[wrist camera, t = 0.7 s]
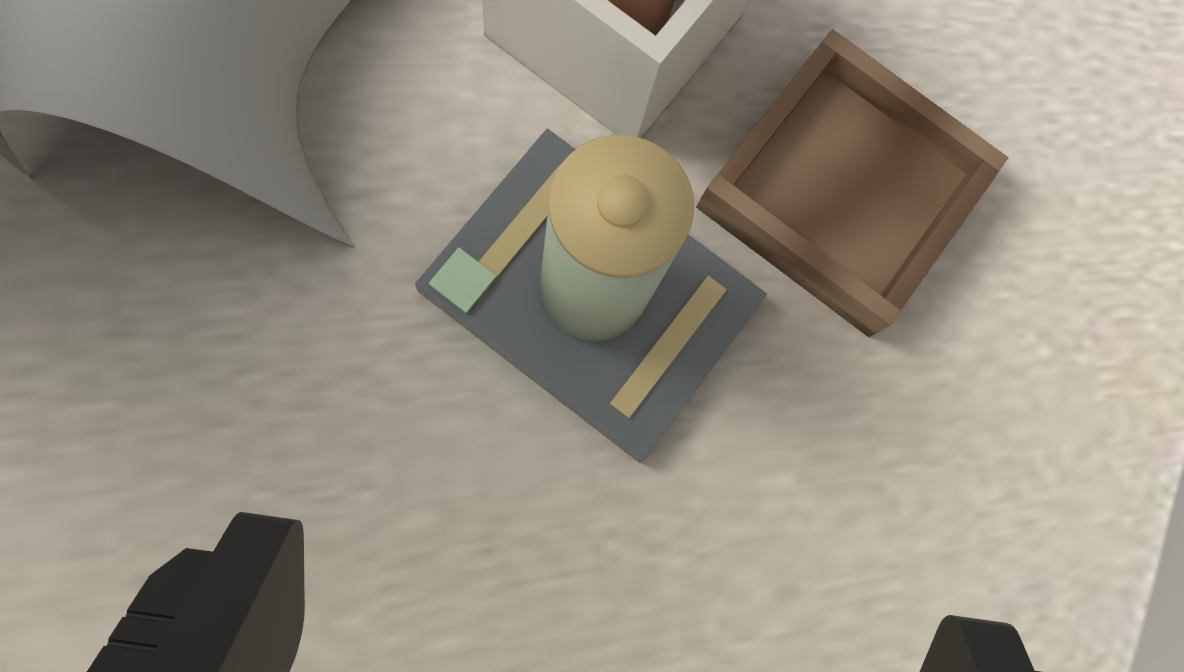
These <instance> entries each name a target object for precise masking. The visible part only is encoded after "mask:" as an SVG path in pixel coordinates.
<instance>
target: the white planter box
mask: <svg viewBox="0 0 1184 672" xmlns="http://www.w3.org/2000/svg"><path fill="white" fill-rule="evenodd" d="M748 1H749V0H674V4H673V7H672V10H671V14H670V17H669V20H668V22H667V23H666V24H665V26H664V27H663V28H662V29H661V30H660V32H659V33H658V34H657V35H656V36H655V35H654V34H652V33H651V32H650V31H648V30H647V29H646V28H644V27H643V26H641V25H640V24H639V23H637V22H636V21H635V20H633V19H632V18H631V17H629V16H628V15H627V14H625V13H624V12H623V11H621V10H620V9H619V8H617V7H616V6H614V5H613V4H612V3H610V2H609V1H608V0H483V18H484V35H485V36H486V37H487V38H489V39H490V40H491V41H493V42H494V43H495V44H497V45H498V46H499V47H501V48H502V49H503V50H505V51H506V52H507V53H509V54H510V55H511V56H513V57H514V58H515V59H517V60H518V61H519V62H521V63H522V64H523V65H525V66H526V67H527V68H529V69H530V70H531V71H533V72H534V73H535V74H537V75H538V76H539V77H541V78H542V79H543V80H545V81H546V82H547V83H549V84H550V85H551V86H553V87H554V88H555V89H557V90H558V91H559V92H561V93H562V94H563V95H565V96H566V97H567V98H569V99H570V100H571V101H573V102H574V103H575V104H577V105H578V106H579V107H581V108H582V109H583V110H585V111H586V112H587V113H589V114H590V115H591V116H593V117H594V118H595V119H597V120H598V121H599V122H601V123H602V124H603V125H605V126H606V127H607V128H609V129H610V130H611V131H613V132H614V133H615V134H617V135H627V136H634V137H639V138H642V137H643V135H644V134H645V133H646V132H647V130H648V129H649V128H650V127H651V126H652V124H653V123H654V122H655V121H656V119H657V118H658V117H659V116H660V115H661V113H662V112H663V111H664V110H665V109H666V107H667V106H668V105H669V104H670V102H671V101H672V100H673V99H674V98H675V96H676V95H677V94H678V93H679V91H680V90H681V89H682V88H683V87H684V85H685V84H686V83H687V82H688V80H689V79H690V78H691V77H692V76H693V74H694V73H695V72H696V71H697V69H698V68H699V67H700V66H701V65H702V63H703V62H704V61H705V60H706V58H707V57H708V56H709V55H710V54H711V52H712V51H713V50H714V49H715V47H716V46H717V45H718V44H719V43H720V41H721V40H722V39H723V38H724V36H725V35H726V34H727V33H728V32H729V30H730V29H731V28H732V27H733V26H734V24H735V23H736V22H737V21H738V19H739V18H740V17H741V16H742V15H743V12H744V10H745V8H746V6H747V3H748Z"/></svg>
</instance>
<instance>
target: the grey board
mask: <svg viewBox="0 0 1184 672" xmlns="http://www.w3.org/2000/svg"><path fill="white" fill-rule="evenodd" d="M573 151H575V149H574V148H573V147H571V146H570V145H569V144H567V143H566V142H565V141H563V140H562V139H561V138H559V137H558V136H557V135H555V134H554V133H553V132H551V131H550V130H549V129H546V130H545V131H544V133H543V134H542V135H541V136H540V137H539V139H538V140H537V141H536V142H535V143H534V144H533V146H532V147H531V148H530V149H529V150H528V152H527V153H526V154H525V155H524V156H523V157H522V159H521V160H520V161H519V162H518V163H517V164H516V166H515V167H514V168H513V169H512V170H511V172H510V173H509V174H508V175H507V176H506V177H505V179H504V180H503V181H502V182H501V183H500V184H499V186H498V187H497V188H496V189H495V190H494V192H493V193H492V194H491V195H490V196H489V197H488V199H487V200H486V201H485V202H484V203H483V204H482V206H481V207H480V208H479V209H478V210H477V212H476V213H475V214H474V215H473V216H472V217H471V219H470V220H469V221H468V222H467V223H466V224H465V226H464V227H463V228H462V229H461V230H460V232H459V233H458V234H457V235H456V236H455V237H454V239H453V240H452V241H451V242H450V243H449V245H448V246H447V247H446V248H445V249H444V250H443V252H442V253H441V254H440V255H439V256H438V257H437V259H436V260H435V261H434V262H433V263H432V265H431V266H430V267H429V268H428V269H427V270H426V272H425V273H424V274H423V275H422V276H421V277H420V279H419V280H418V281H417V282H416V283H415V285H416V288H417V290H418V292H420V293H421V294H422V295H424V296H425V297H426V298H427V299H429V300H430V301H431V302H433V303H434V304H435V305H436V306H438V307H439V308H440V309H442V310H443V311H444V312H446V313H447V314H448V315H449V316H451V317H452V318H453V319H455V320H456V321H457V322H458V323H460V324H461V325H462V326H464V327H465V328H466V329H467V330H469V331H470V332H471V333H473V334H474V335H475V336H477V337H478V338H479V339H480V340H482V341H483V342H484V343H486V344H487V345H488V346H489V347H491V348H492V349H493V350H495V351H496V352H497V353H499V354H500V355H501V356H502V357H504V358H505V359H506V360H508V361H509V362H510V363H511V364H513V365H514V366H515V367H517V368H518V369H519V370H520V371H522V372H523V373H524V374H526V375H527V376H528V377H530V378H531V379H532V380H533V381H535V382H536V383H537V384H539V385H540V386H541V387H542V388H544V389H545V390H546V391H548V392H549V393H550V394H551V395H553V396H554V397H555V398H557V399H558V400H559V401H561V402H562V403H563V404H564V405H566V406H567V407H568V408H570V409H571V410H572V411H573V412H575V413H576V414H577V415H579V416H580V417H581V418H582V419H584V420H585V421H586V422H588V423H589V424H590V425H592V426H593V427H594V428H595V429H597V430H598V431H599V432H601V433H602V434H603V435H604V436H606V437H607V438H608V439H610V440H611V441H612V442H614V443H615V444H616V445H617V446H619V447H620V448H621V449H623V450H624V451H625V452H626V453H628V454H629V455H630V456H632V457H633V458H634V459H635V460H637V461H638V462H641V461H642V460H644V458H645V457H646V456H647V454H648V453H649V452H650V450H651V449H652V448H653V446H654V445H655V443H656V442H657V441H658V439H659V438H660V437H661V435H662V434H663V433H664V431H665V430H666V429H667V427H668V426H669V425H670V423H671V422H672V421H673V419H674V418H675V417H676V415H677V414H678V413H679V411H680V410H681V409H682V407H683V406H684V405H685V403H686V402H687V401H688V399H689V398H690V397H691V395H692V394H693V393H694V391H695V390H696V389H697V387H698V386H699V385H700V383H701V382H702V381H703V379H704V378H705V377H706V375H707V374H708V373H709V371H710V370H711V369H712V367H713V366H714V365H715V363H716V362H717V361H718V359H719V358H720V357H721V355H722V354H723V353H724V351H725V350H726V349H727V347H728V346H729V345H730V343H731V342H732V341H733V339H734V338H735V336H736V335H737V334H738V332H739V331H740V330H741V328H742V327H743V326H744V324H745V323H746V322H747V320H748V319H749V318H750V316H751V315H752V314H753V312H754V311H755V310H756V308H757V307H758V306H759V304H760V303H761V302H762V300H763V299H764V298H765V296H766V295H767V294H766V293H765V292H764V291H762V290H761V289H760V288H758V287H757V286H756V285H754V284H753V283H752V282H750V281H749V280H748V279H746V278H745V277H744V276H743V275H741V274H740V273H739V272H737V271H736V270H735V269H733V268H732V267H731V266H729V265H728V264H727V263H725V262H724V261H723V260H721V259H720V258H719V257H717V256H716V255H715V254H713V253H712V252H711V251H709V250H708V249H707V248H705V247H704V246H703V245H701V244H700V243H699V242H697V241H696V240H695V239H693V238H692V237H691V236H689V235H687V237H686V239H685V241H684V243H683V244H682V246H681V248H680V249H679V251H678V253H677V255H676V256H675V258H674V260H673V261H672V263H671V265H670V267H669V268H668V270H667V272H666V273H665V275H664V277H663V279H662V280H661V282H660V284H659V285H658V287H657V289H656V291H655V292H654V294H653V296H652V297H651V299H650V301H649V303H648V304H647V306H646V308H645V309H644V311H643V313H642V315H641V316H640V318H639V319H638V321H637V322H636V323H635V324H634V325H633V327H632V328H630V329H629V330H628V331H627V332H625V333H624V334H622V335H621V336H619V337H616V338H614V339H611V340H608V341H602V342H586V341H581V340H578V339H575V338H572V337H570V336H568V335H566V334H565V333H563V332H562V331H560V330H559V329H558V328H557V327H556V326H555V325H554V324H553V323H552V322H551V321H550V319H549V318H548V316H547V315H546V313H545V311H544V309H543V306H542V303H541V299H540V290H539V287H540V276H541V268H542V259H543V251H544V242H545V234H546V225H547V217H548V208H549V200H550V192H551V187H552V183H553V180H554V177H555V175H556V173H557V171H558V169H559V167H560V166H561V164H562V163H563V162H564V160H565V159H566V158H567V157H568V156H569V155H570V154H571V153H572V152H573Z"/></svg>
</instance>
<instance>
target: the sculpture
mask: <svg viewBox="0 0 1184 672" xmlns="http://www.w3.org/2000/svg"><path fill="white" fill-rule="evenodd" d="M350 1H351V0H0V111H7V110H24V111H33V112H40V113H46V114H50V115H55V116H59V117H63V118H67V119H71V120H75V121H78V122H81V123H85V124H88V125H91V126H94V127H97V128H100V129H103V130H106V131H109V132H112V133H115V134H117V135H120V136H123V137H125V138H128V139H130V140H133V141H135V142H138V143H140V144H143V145H145V146H148V147H150V148H152V149H155V150H157V151H159V152H162V153H164V154H166V155H168V156H171V157H173V158H175V159H177V160H179V161H182V162H184V163H186V164H188V165H190V166H192V167H194V168H196V169H198V170H201V171H203V172H205V173H207V174H209V175H211V176H213V177H215V178H217V179H219V180H221V181H223V182H225V183H227V184H229V185H231V186H233V187H235V188H237V189H239V190H240V191H242V192H244V193H246V194H248V195H250V196H252V197H254V198H256V199H258V200H260V201H262V202H264V203H265V204H267V205H269V206H271V207H273V208H275V209H277V210H279V211H281V212H283V213H285V214H287V215H289V216H290V217H292V218H294V219H296V220H298V221H300V222H302V223H304V224H306V225H308V226H310V227H312V228H314V229H316V230H318V231H320V232H322V233H324V234H326V235H329V236H331V237H333V238H335V239H337V240H339V241H341V242H344V243H346V244H348V245H350V246H353V247H355V246H354V244H353V242H352V241H351V240H350V238H349V237H348V235H347V233H346V232H345V231H344V229H343V228H342V226H341V224H340V223H339V221H338V220H337V218H336V217H335V215H334V214H333V212H332V211H331V209H330V207H329V206H328V204H327V202H326V201H325V199H324V197H323V195H322V193H321V192H320V190H319V188H318V186H317V184H316V182H315V180H314V178H313V176H312V173H311V171H310V169H309V166H308V164H307V161H306V159H305V156H304V153H303V149H302V146H301V142H300V138H299V133H298V127H297V114H296V109H297V96H298V91H299V86H300V83H301V79H302V77H303V74H304V72H305V69H306V66H307V64H308V62H309V60H310V58H311V56H312V54H313V52H314V50H315V48H316V47H317V45H318V43H319V42H320V40H321V39H322V37H323V36H324V34H325V33H326V31H327V30H328V29H329V27H330V26H331V25H332V23H333V22H334V21H335V19H336V18H337V17H338V15H339V14H340V13H341V12H342V11H343V9H344V8H345V7H346V6H347V4H348V3H349V2H350ZM0 153H1V154H2V155H3V156H4V157H5V158H6V159H7V160H8V161H9V162H10V163H11V164H13V165H14V166H15V167H16V168H18V169H19V170H20V171H21V172H22V173H24V174H25V175H27V176H28V177H29V178H31V179H32V177H31V176H30V175H29V174H28V172H27V171H26V170H25V169H24V168H23V166H22V165H21V164H20V162H19V161H18V160H17V158H16V157H15V155H14V154H13V152H12V151H11V149H10V148H9V146H8V144H7V143H6V141H5V139H4V137H3V136H2V134H1V132H0Z"/></svg>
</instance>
